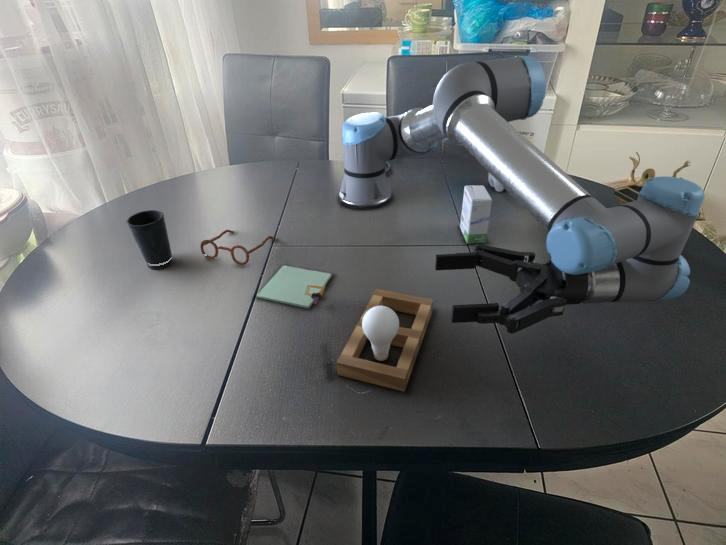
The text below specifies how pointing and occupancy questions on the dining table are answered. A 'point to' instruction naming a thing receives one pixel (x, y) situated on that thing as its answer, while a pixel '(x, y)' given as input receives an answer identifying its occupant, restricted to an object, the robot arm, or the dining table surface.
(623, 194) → the decorative box
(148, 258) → the cup
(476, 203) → the ink box
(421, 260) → the dining table surface
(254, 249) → the glasses
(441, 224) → the dining table surface
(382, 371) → the holder
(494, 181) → the elephant figurine
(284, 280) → the mat
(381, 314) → the lightbulb
